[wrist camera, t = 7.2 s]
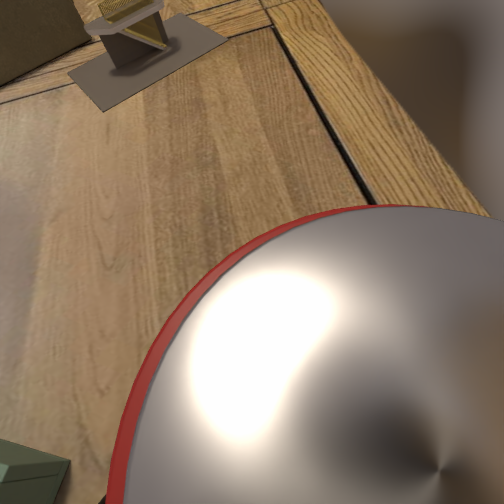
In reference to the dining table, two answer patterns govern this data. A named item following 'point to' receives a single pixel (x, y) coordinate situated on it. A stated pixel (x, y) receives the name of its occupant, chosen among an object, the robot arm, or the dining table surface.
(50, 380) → the dining table surface
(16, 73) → the tissue box
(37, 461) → the bin
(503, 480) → the can
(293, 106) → the dining table surface
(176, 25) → the platform
